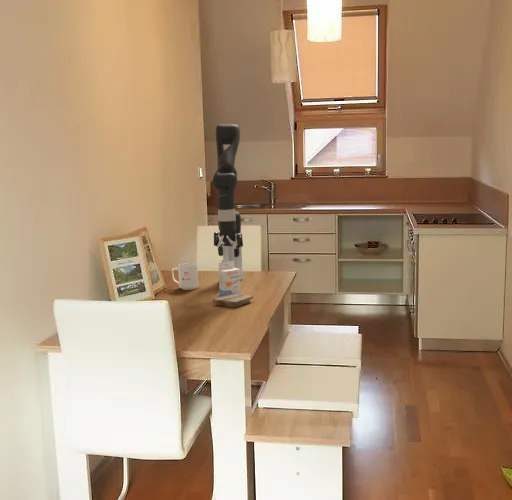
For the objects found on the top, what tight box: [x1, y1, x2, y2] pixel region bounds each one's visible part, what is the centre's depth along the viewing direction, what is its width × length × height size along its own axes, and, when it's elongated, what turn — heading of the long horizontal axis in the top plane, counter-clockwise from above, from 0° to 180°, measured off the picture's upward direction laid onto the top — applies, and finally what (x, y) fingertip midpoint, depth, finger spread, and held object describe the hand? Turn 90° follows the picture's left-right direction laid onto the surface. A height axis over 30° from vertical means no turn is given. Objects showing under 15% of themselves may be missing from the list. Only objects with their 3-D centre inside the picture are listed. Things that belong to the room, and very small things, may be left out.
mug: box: [171, 262, 199, 291], centre depth 316 cm, size 12×9×11 cm
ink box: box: [218, 261, 242, 297], centre depth 298 cm, size 8×5×15 cm, turn 123°
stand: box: [212, 293, 254, 308], centre depth 284 cm, size 12×12×2 cm
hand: (228, 256), depth 296 cm, fingers open, 8 cm apart
